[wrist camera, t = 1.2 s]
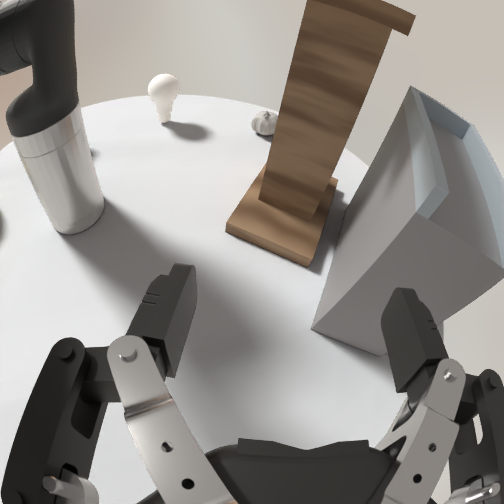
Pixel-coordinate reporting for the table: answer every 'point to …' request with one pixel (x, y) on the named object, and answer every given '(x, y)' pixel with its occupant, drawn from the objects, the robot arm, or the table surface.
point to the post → (315, 123)
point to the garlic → (264, 123)
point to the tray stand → (416, 226)
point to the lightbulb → (163, 94)
